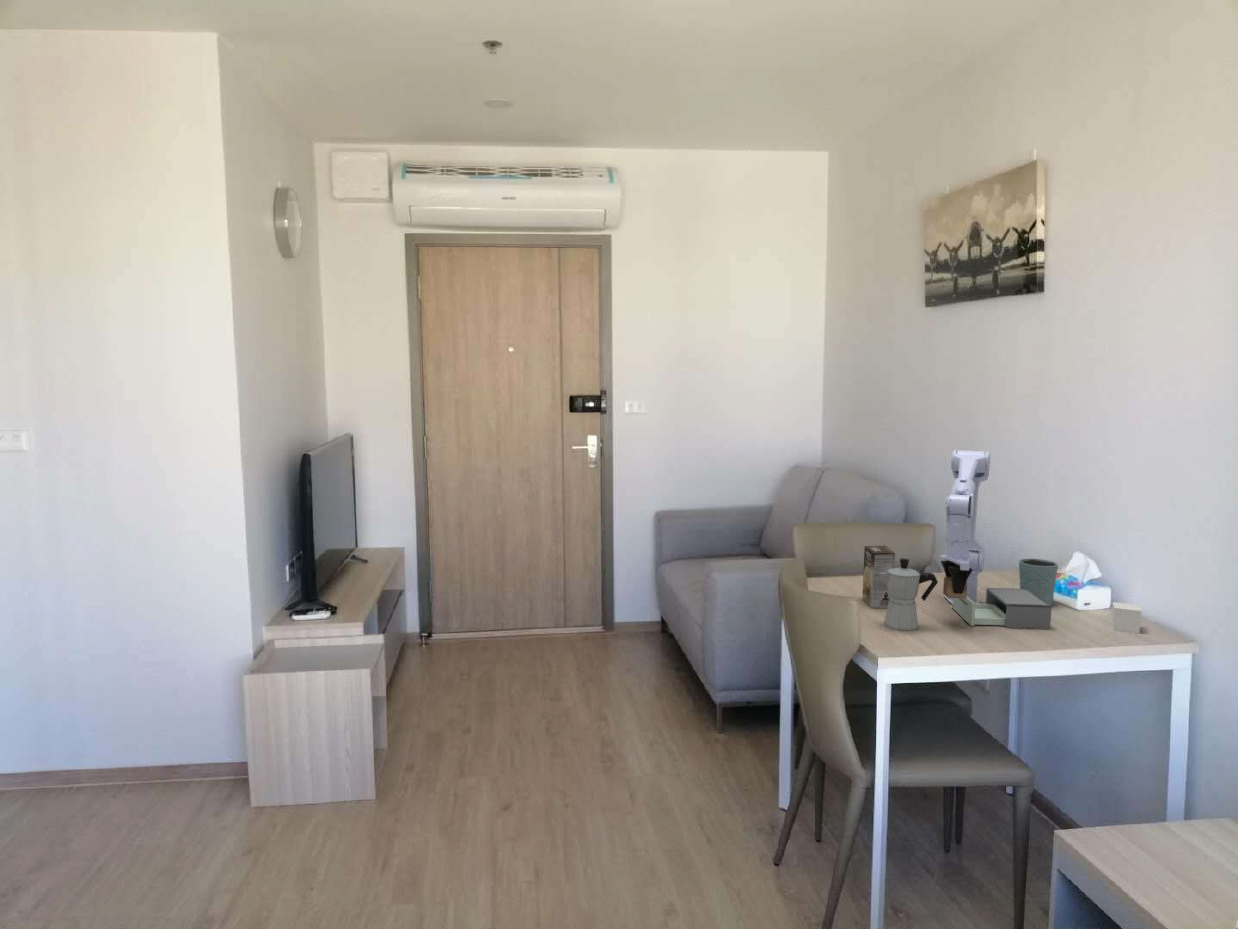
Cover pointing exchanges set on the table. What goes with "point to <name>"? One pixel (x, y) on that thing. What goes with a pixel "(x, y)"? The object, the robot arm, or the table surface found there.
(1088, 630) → the table surface
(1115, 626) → the beige cube
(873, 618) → the table surface
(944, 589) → the walnut block
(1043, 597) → the green plant pot
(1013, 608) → the grey drawer box
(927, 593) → the coffee maker
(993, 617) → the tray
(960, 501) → the robot arm
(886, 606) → the coffee box
